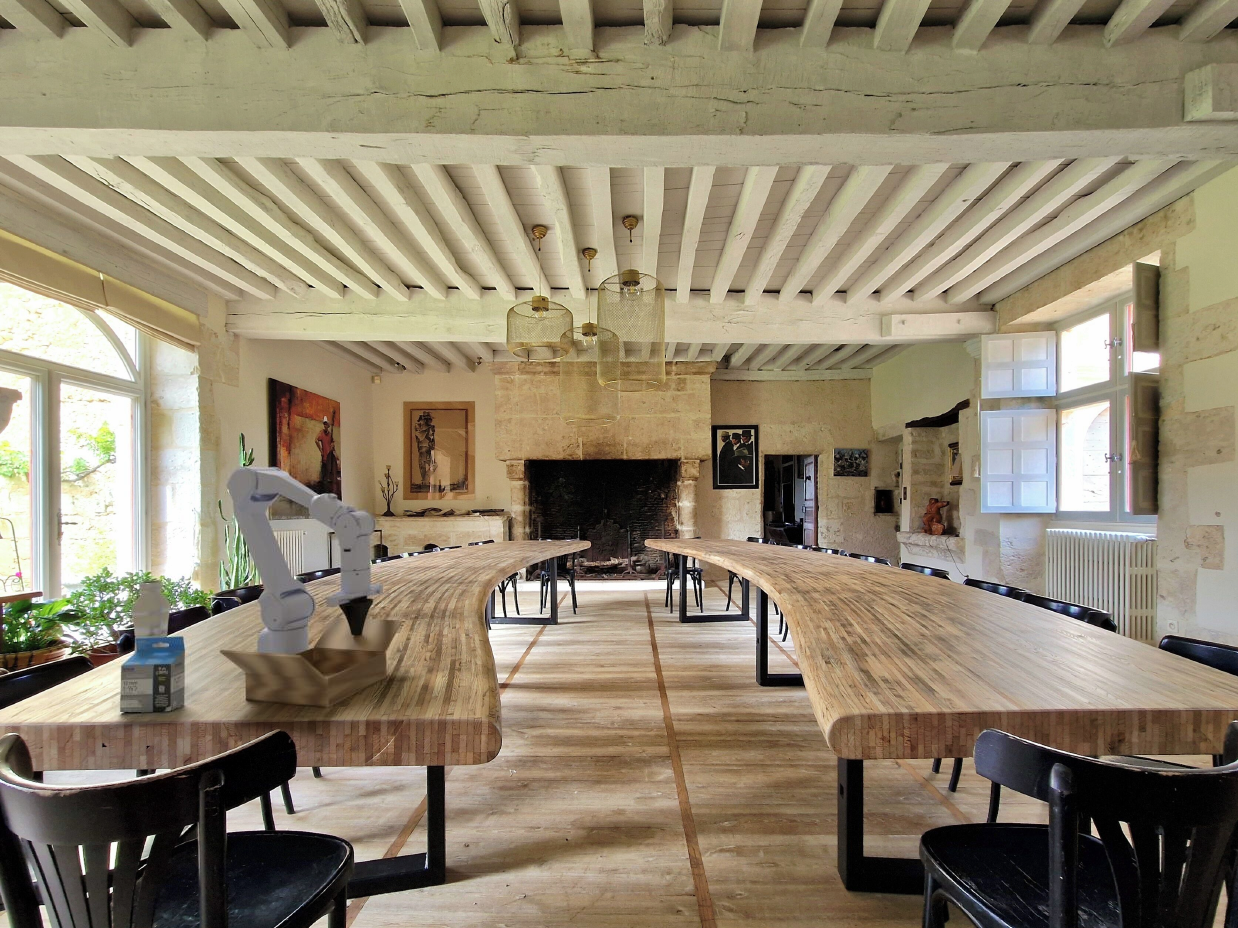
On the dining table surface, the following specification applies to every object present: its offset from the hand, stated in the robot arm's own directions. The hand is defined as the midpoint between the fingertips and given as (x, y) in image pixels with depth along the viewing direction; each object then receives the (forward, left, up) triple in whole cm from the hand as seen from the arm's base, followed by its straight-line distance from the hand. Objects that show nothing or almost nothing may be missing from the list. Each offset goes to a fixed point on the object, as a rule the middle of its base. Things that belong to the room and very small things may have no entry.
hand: (356, 634), depth 124 cm
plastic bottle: (-39, -13, -8) cm, 42 cm away
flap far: (0, 0, 0) cm, 0 cm away
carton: (0, -10, -8) cm, 13 cm away
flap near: (0, -21, 0) cm, 21 cm away
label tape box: (-22, -25, -8) cm, 34 cm away
